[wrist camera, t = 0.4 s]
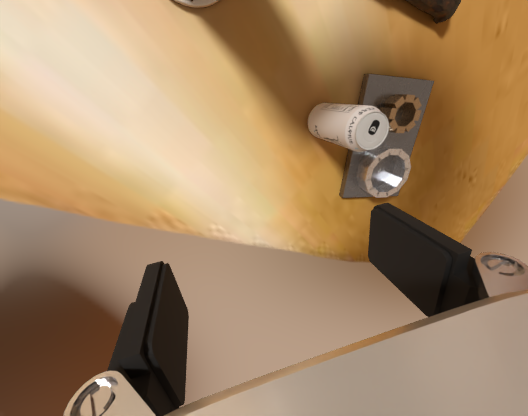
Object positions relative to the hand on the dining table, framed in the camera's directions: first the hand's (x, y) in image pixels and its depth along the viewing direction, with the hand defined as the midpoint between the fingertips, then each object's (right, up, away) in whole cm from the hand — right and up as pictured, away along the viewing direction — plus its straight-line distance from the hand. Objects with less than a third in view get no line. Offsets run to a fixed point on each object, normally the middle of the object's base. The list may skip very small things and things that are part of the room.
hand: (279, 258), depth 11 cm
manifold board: (+23, +16, +38) cm, 47 cm away
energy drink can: (+10, +19, +34) cm, 40 cm away
